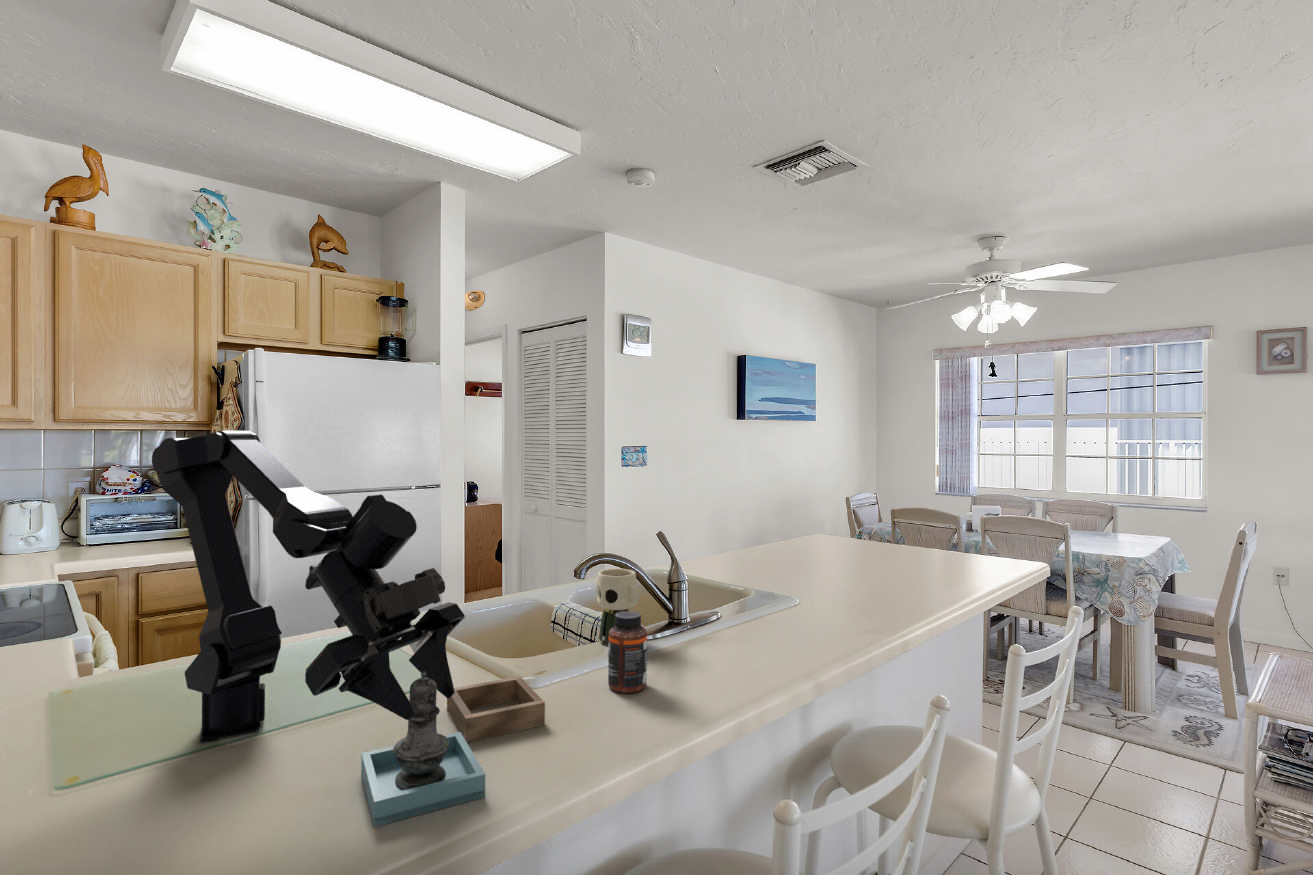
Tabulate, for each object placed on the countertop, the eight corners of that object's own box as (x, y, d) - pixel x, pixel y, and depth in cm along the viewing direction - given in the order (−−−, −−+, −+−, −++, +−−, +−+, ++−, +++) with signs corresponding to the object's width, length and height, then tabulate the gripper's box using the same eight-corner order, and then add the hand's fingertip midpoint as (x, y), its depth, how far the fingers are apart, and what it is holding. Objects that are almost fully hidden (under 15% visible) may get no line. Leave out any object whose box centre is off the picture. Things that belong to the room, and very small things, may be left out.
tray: (373, 826, 66) (374, 801, 65) (361, 774, 75) (361, 752, 75) (485, 796, 71) (485, 773, 71) (460, 752, 81) (460, 731, 81)
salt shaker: (407, 799, 69) (410, 687, 68) (382, 775, 73) (385, 669, 72) (458, 777, 73) (461, 672, 73) (432, 756, 77) (435, 656, 77)
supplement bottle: (654, 687, 102) (655, 614, 102) (627, 698, 98) (628, 622, 97) (627, 676, 106) (628, 606, 106) (599, 686, 102) (600, 613, 101)
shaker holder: (465, 742, 83) (465, 718, 83) (446, 710, 92) (447, 689, 92) (544, 724, 88) (544, 702, 88) (519, 696, 98) (519, 676, 97)
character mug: (582, 638, 124) (583, 570, 124) (610, 630, 129) (611, 565, 129) (621, 653, 117) (623, 580, 116) (650, 644, 122) (651, 574, 122)
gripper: (325, 565, 66) (408, 695, 61) (453, 537, 83) (525, 637, 79) (271, 632, 69) (346, 760, 65) (405, 592, 86) (472, 691, 82)
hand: (432, 706), depth 72 cm, fingers open, 6 cm apart
